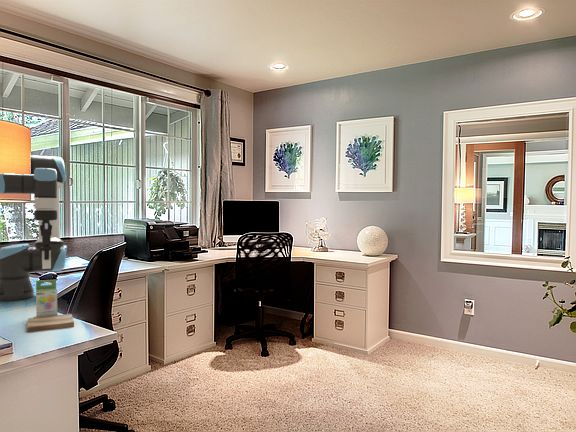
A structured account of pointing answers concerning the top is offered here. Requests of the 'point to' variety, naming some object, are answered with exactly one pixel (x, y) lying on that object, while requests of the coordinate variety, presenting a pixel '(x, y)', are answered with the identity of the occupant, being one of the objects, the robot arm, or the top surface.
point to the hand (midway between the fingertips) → (46, 266)
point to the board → (50, 322)
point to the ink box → (46, 298)
